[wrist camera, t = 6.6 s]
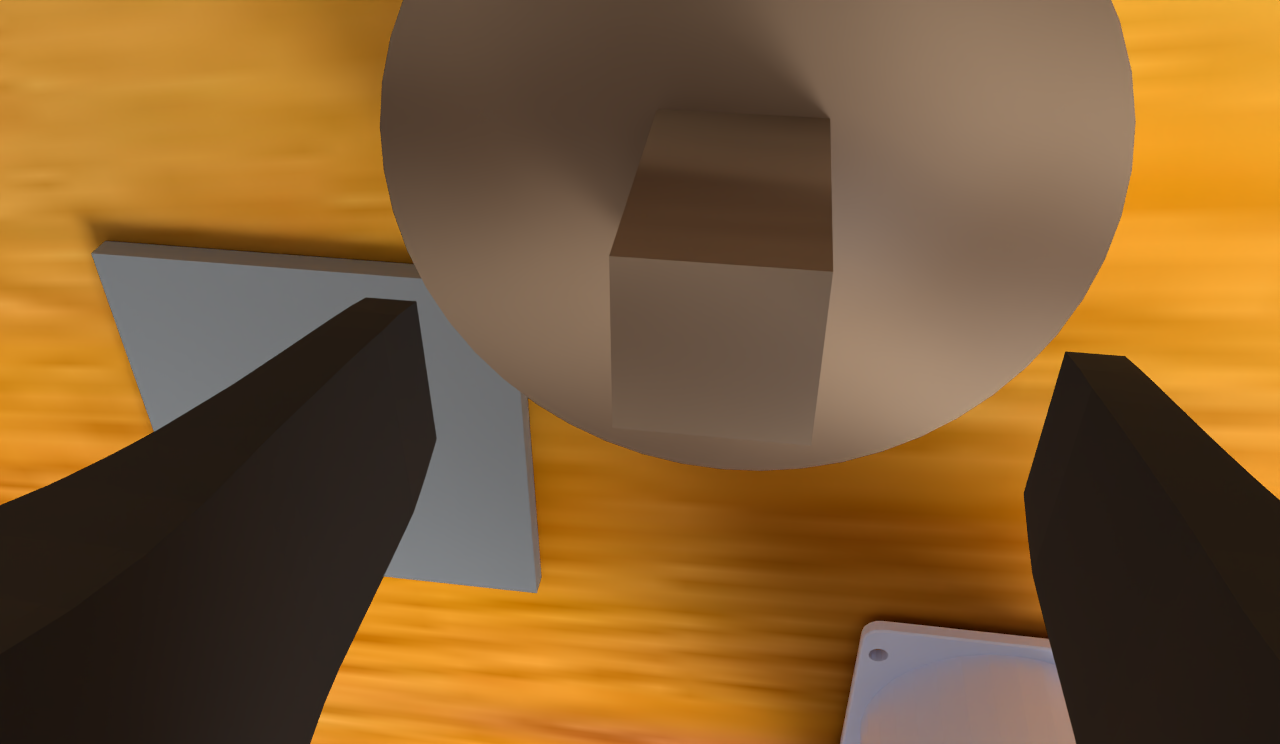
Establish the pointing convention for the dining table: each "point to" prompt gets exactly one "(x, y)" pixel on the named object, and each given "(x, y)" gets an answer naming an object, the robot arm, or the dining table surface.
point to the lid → (757, 206)
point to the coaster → (288, 311)
